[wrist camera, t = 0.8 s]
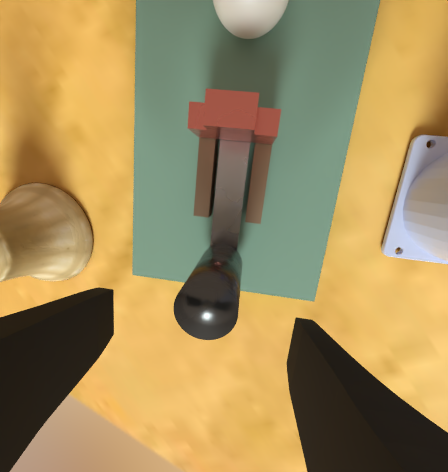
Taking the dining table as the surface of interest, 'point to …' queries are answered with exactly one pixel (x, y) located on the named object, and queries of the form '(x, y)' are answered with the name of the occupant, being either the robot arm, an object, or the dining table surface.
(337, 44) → the mat
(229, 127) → the kicker rod
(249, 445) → the dining table surface
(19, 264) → the hand bell
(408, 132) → the dining table surface
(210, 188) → the rail guides
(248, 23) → the ball
